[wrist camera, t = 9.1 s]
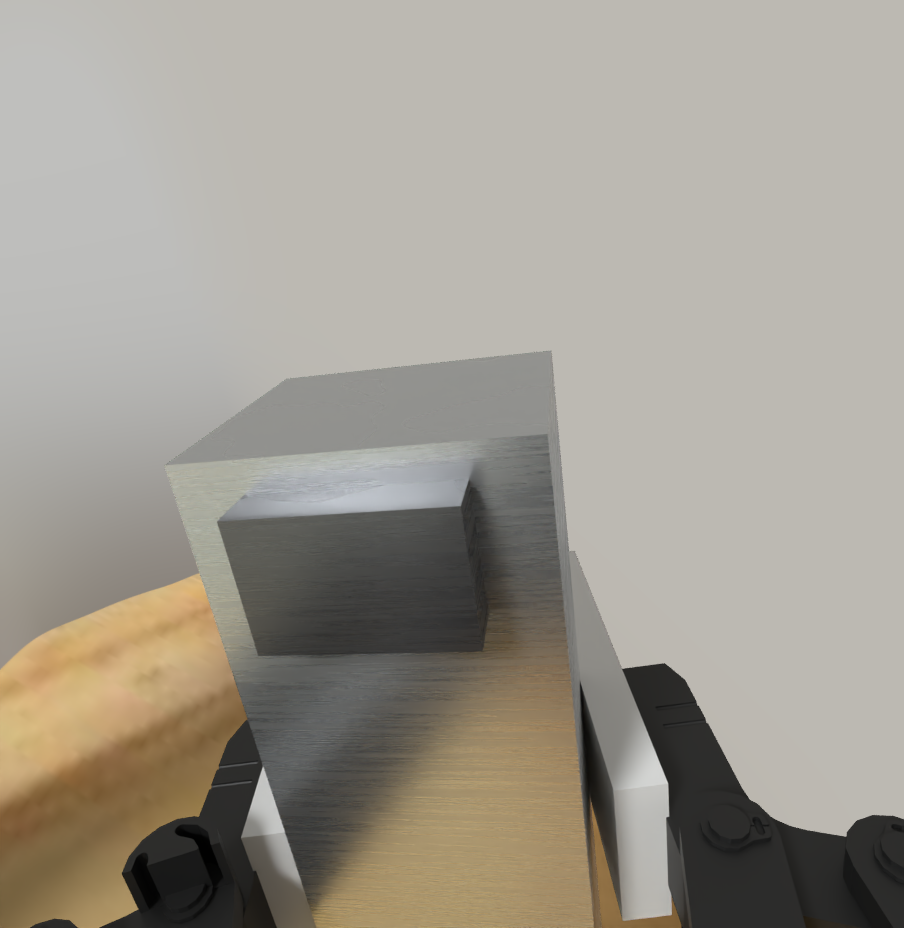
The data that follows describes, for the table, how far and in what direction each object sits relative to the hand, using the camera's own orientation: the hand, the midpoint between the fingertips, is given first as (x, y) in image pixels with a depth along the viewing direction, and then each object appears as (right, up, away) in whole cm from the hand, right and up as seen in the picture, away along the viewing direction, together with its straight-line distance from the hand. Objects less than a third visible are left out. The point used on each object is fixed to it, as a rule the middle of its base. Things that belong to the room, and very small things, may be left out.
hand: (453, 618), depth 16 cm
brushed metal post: (+1, -10, -2) cm, 10 cm away
